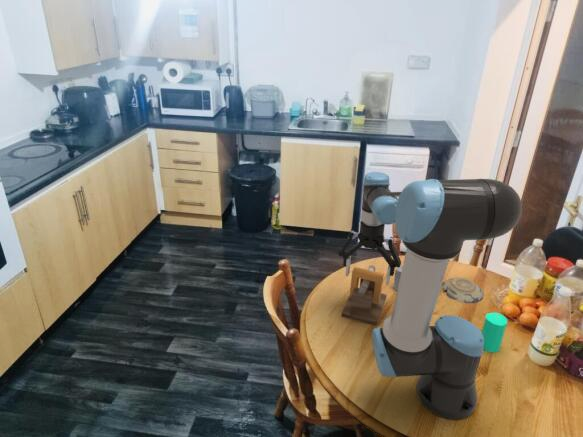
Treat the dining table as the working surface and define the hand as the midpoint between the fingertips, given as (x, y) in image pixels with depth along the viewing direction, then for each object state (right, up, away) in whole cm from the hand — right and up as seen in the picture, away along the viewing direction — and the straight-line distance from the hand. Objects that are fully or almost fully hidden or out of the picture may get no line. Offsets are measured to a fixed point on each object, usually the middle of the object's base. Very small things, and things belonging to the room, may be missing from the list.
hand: (367, 278), depth 142 cm
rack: (0, -11, +5) cm, 12 cm away
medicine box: (+17, -6, +16) cm, 24 cm away
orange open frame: (0, -7, +4) cm, 8 cm away
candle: (+36, -19, -11) cm, 42 cm away
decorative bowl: (+37, -7, +14) cm, 41 cm away
